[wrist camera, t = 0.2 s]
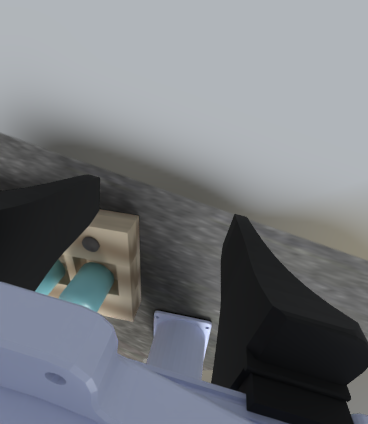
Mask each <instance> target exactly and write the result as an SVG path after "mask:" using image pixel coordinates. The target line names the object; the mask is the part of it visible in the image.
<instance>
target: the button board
mask: <svg viewBox="0 0 368 424" xmlns="http://www.w3.org/2000/svg"><path fill="white" fill-rule="evenodd" d="M58 260H59V261H60V262H61V263H62V264H63V266H64V268H65V275H64V276H63V277H62V279H61V280H60V281H59V282H58V284H57V285H56V286H55V287H54V288H53V290H52V291H51V292H50V293H49V294H48V296H51V297H55V298H58V299H59V296H60V294H61V293H62V292H63V290H64V289H65V288H66V287H67V285H68V284H69V283H70V281H71V280H72V279H73V277H74V276H75V275H76V274H77V272H78V271H79V270H80V268H81V267H82V266H83V265H84V264H85V263H89V262H94V263H99V264H101V265H103V266H105V267H106V268H108V269H109V270H110V271H111V272H112V274H113V276H114V283H113V285H112V287H111V289H110V291H109V292H108V294H107V296H106V298H105V299H104V301H103V303H102V305H101V307H100V308H99V310H98V312H97V313H99V314H101V315H104V316H108V317H113V318H118V319H122V320H127V321H132V322H133V321H134V318H135V315H136V313H137V310H138V308H139V305H140V303H141V274H140V239H139V216H138V215H132V214H126V213H120V212H113V211H107V210H101V209H99V212H98V213H97V215H96V217H95V218H94V219H93V221H92V222H91V224H90V225H89V226H88V227H87V228H86V229H85V231H84V232H83V233H82V234H81V235H80V236H79V237H78V238H77V239H76V240H75V241H74V242H73V243H72V244H71V246H70V247H69V248H68V249H67V250H66V251H65V252H64V253H63V254H62V255H61V257H60V258H59V259H58Z"/></svg>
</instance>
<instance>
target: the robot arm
mask: <svg viewBox="0 0 368 424" xmlns="http://www.w3.org/2000/svg"><path fill="white" fill-rule="evenodd" d="M99 205H100V178H99V177H96V176H92V175H82V176H77V177H73V178H68V179H64V180H60V181H56V182H52V183H47V184H42V185H37V186H32V187H27V188H21V189H14V190H6V191H0V424H368V415H365V414H350V411H349V409H348V406H347V403H346V401H347V402H348V401H350V400H351V396H350V393H349V390H348V387H347V384H349V383H350V382H351V381H352V380H354V379H355V378H356V377H358V376H359V375H360V374H362V373H363V372H364V371H365V370H366V369H367V368H368V342H367V340H366V338H365V336H364V334H363V332H362V330H361V328H360V326H359V324H358V323H357V322H356V321H354V320H353V319H351V318H350V317H348V316H347V315H345V314H344V313H342V312H341V311H339V310H337V309H336V308H334V307H333V306H331V305H330V304H329V303H327V302H326V301H324V300H323V299H322V298H320V297H319V296H318V295H316V294H315V293H314V292H313V291H311V290H310V289H309V288H308V287H306V286H305V285H304V284H303V283H302V282H301V281H299V280H298V279H297V278H296V277H295V276H294V275H293V274H292V273H291V272H289V271H288V270H287V269H286V267H285V266H284V265H283V264H282V263H281V262H280V261H279V260H278V259H277V258H276V257H275V256H274V254H273V253H272V252H271V251H270V250H269V248H268V247H267V246H266V244H265V243H264V242H263V240H262V239H261V238H260V236H259V235H258V233H257V232H256V230H255V229H254V227H253V226H252V224H251V223H250V221H249V220H248V218H247V217H244V216H241V215H237V214H235V215H234V217H233V220H232V222H231V225H230V228H229V230H228V233H227V235H226V238H225V241H224V243H223V248H222V255H221V308H220V318H219V327H218V336H217V344H216V352H215V360H214V367H213V374H212V381H211V383H208V382H205V381H202V380H201V378H202V369H203V360H204V356H205V352H206V348H207V343H208V339H209V335H210V330H211V326H212V323H211V322H210V321H206V320H201V319H196V318H192V317H187V316H182V315H177V314H172V313H167V312H163V311H155V313H154V339H153V342H152V346H151V349H150V352H149V356H148V359H147V363H146V364H145V363H142V362H139V361H136V360H132V359H129V358H126V357H124V356H122V355H120V354H118V353H117V349H118V339H117V336H116V333H115V330H114V327H113V325H112V324H111V323H109V322H108V321H107V320H106V319H105V318H104V317H103V316H102V315H101V314H99V313H97V312H95V311H93V310H91V309H89V308H86V307H84V306H82V305H78V304H75V303H72V302H68V301H65V300H61V299H58V298H55V297H51V296H48V295H44V294H41V293H38V292H35V291H36V289H37V288H38V286H39V285H40V283H41V282H42V281H43V279H44V278H45V276H46V275H47V273H48V272H49V271H50V269H51V268H52V267H53V265H54V264H55V263H56V261H57V260H58V259H59V258H60V257H61V255H62V254H63V253H64V252H65V251H66V250H67V249H68V248H69V247H70V246H71V244H72V243H73V242H74V241H75V240H76V239H77V238H78V237H79V236H80V235H81V234H82V233H83V232H84V231H85V229H86V228H87V227H88V226H89V225H90V224H91V222H92V221H93V219H94V218H95V217H96V215H97V213H98V212H99Z"/></svg>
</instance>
